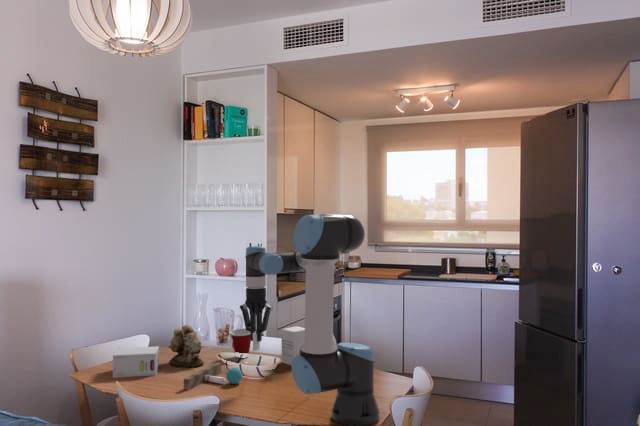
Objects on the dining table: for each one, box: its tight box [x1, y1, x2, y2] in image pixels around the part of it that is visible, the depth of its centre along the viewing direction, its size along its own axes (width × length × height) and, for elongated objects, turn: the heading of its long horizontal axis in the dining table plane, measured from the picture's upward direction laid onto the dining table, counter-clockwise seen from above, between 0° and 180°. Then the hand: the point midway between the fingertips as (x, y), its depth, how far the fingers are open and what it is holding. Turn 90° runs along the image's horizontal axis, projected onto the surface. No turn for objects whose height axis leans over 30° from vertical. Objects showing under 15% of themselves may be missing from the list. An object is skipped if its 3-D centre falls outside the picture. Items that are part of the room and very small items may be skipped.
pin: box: [204, 375, 227, 385], centre depth 210 cm, size 2×2×8 cm
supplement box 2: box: [280, 325, 305, 367], centre depth 238 cm, size 9×9×15 cm
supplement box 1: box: [112, 345, 160, 379], centre depth 226 cm, size 17×13×9 cm
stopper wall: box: [183, 362, 222, 391], centre depth 213 cm, size 24×2×4 cm, turn 160°
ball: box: [226, 367, 243, 385], centre depth 209 cm, size 6×6×6 cm
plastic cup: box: [229, 328, 252, 354], centre depth 249 cm, size 11×11×12 cm
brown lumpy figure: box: [168, 324, 205, 369], centre depth 238 cm, size 18×12×17 cm, turn 60°
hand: (256, 349), depth 205 cm, fingers closed
